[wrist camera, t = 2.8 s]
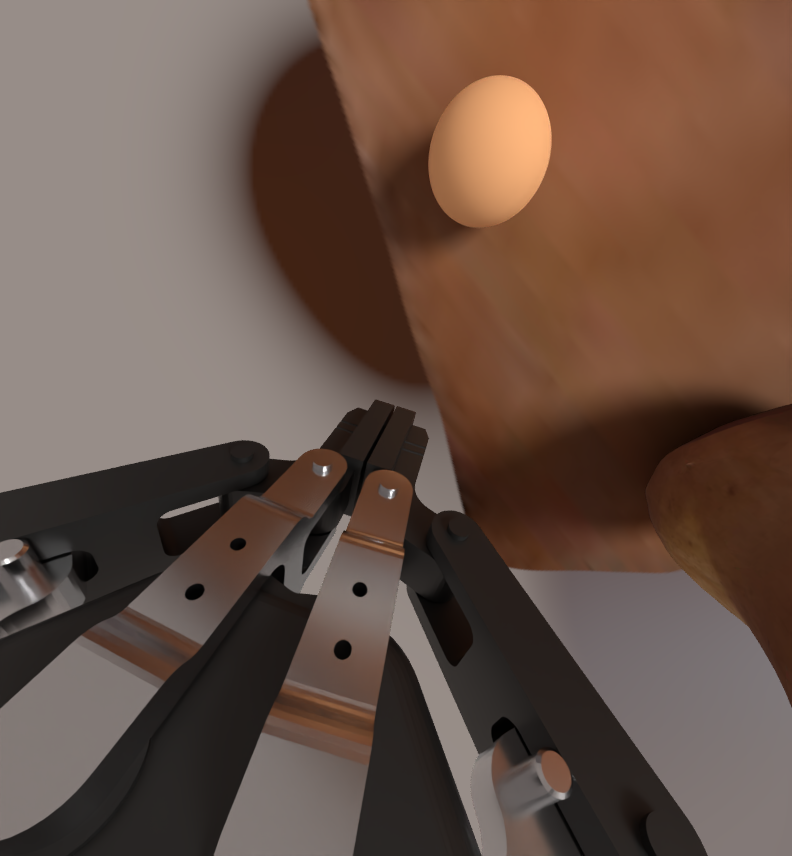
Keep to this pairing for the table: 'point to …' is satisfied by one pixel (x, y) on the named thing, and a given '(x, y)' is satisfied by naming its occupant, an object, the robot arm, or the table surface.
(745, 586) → the butternut squash
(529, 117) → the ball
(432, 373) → the table surface
